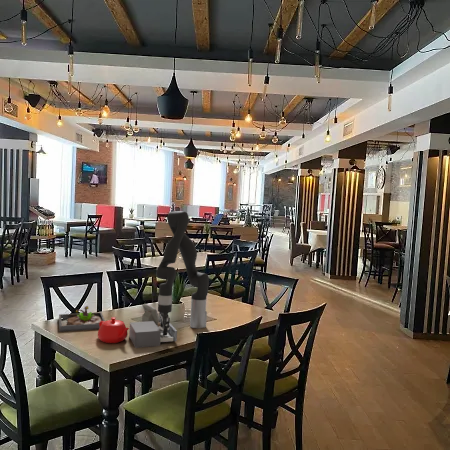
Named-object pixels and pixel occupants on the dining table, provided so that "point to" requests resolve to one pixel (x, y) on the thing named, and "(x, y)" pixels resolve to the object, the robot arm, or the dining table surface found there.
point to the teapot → (112, 331)
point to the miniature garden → (84, 318)
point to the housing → (144, 334)
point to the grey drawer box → (169, 335)
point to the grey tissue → (150, 314)
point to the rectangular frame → (78, 327)
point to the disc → (162, 329)
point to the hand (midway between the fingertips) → (163, 333)
